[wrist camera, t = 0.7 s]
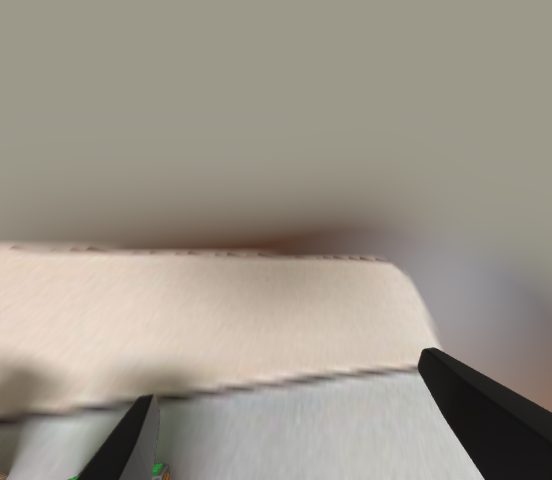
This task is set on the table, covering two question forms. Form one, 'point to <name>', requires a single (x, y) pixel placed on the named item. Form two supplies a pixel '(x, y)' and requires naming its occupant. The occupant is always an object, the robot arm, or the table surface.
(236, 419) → the table surface
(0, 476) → the walnut block
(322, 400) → the table surface
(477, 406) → the robot arm
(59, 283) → the table surface
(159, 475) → the puzzle
